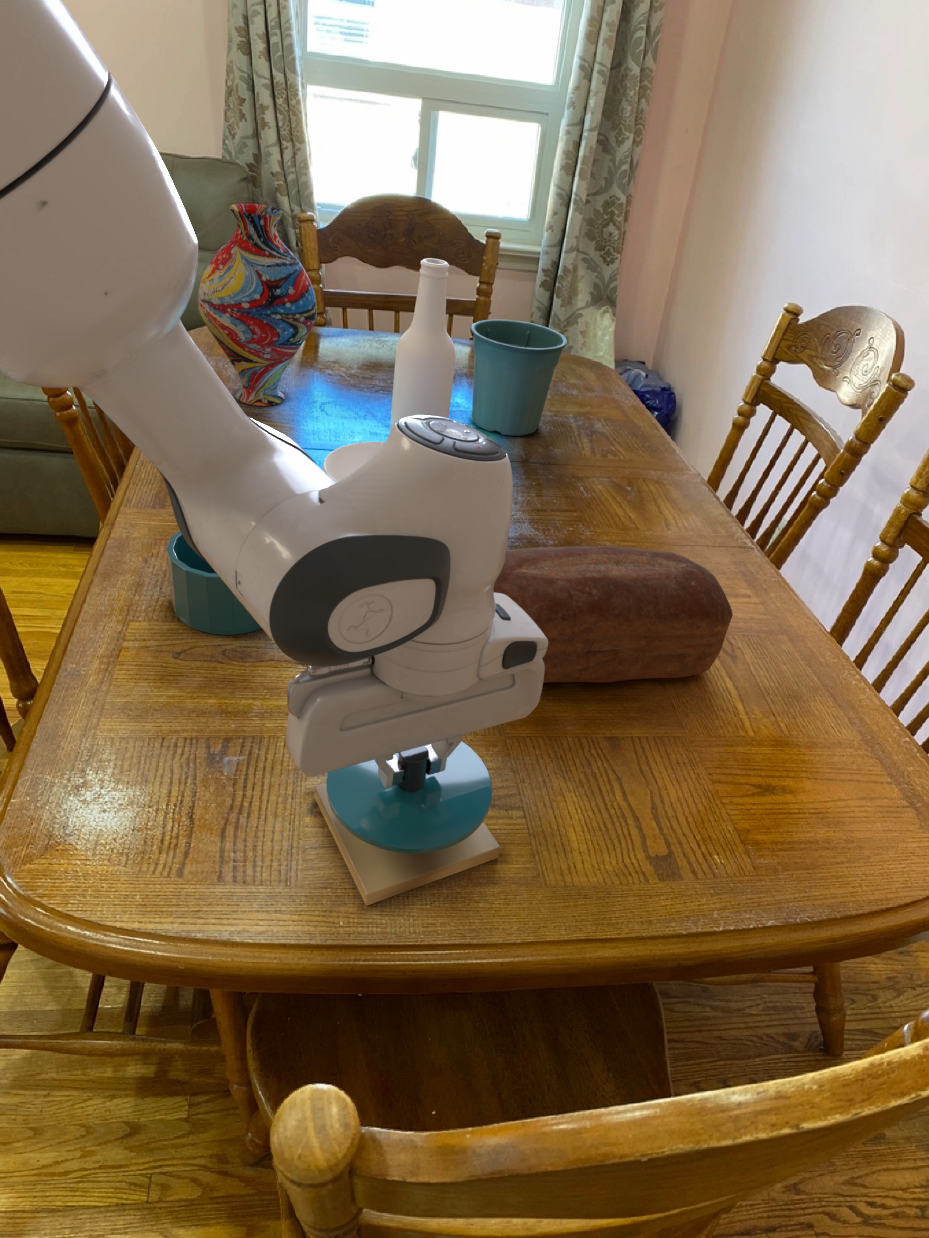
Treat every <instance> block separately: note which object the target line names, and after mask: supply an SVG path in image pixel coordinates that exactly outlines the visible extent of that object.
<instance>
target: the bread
mask: <svg viewBox="0 0 929 1238" xmlns="http://www.w3.org/2000/svg"><path fill="white" fill-rule="evenodd" d="M494 593H502V594H505V595H507V596H508V597H509V598H511V599H512V600H513V601H514V602H515V603H516V604H517V605H519V606H520V607H521V608H522V609H523V610H524V611H525V612H526V613H527V614H528V615H529V616H530V618H531V619H532V620H533V621H534V622H535V623H536V624H537V626H538V627H539V628H540V629H541V631H542V632H543V633H544V635H545V636H546V638H547V639H548V647H547V651H546V653H545V655H544V657H543V658H542V660H543V662H544V665H545V673H544V681H543V684H554V683H615V682H622V681H630V680H642V679H643V680H645V679H679V678H685V677H690V676H691V677H692V676H694V675H700V674H703V673H705V672H707V671H710V670H711V667H712V666H713V664H714V663H715V661H716V660H717V658H718V657H719V654H720V652H721V651H722V648H723V645H724V641H725V638H726V635H727V632H728V630H729V627H730V624H731V622H732V618H733V615H734V614H733V610H732V606H731V604H730V602H729V599H728V598H727V596H726V593H725V591H724V589H723V587H722V585H721V584H720V582H719V581H718V579H717V577H716V576H715V575H714V574H713V573H712V572H710V570H709V569H707V568H706V567H705V566H703V565H701V564H699V563H697V562H695V561H693V560H691V559H689V558H687V557H685V556H683V555H680V554H677V553H674V552H670V551H662V550H653V549H651V550H650V549H642V548H636V547H635V548H634V547H623V546H575V545H574V546H573V545H572V546H545V547H544V546H543V547H525V548H517V549H510V550H506V555H505V561H504V565H503V568H502V570H501V573H500V574H499V576H498V578H497V580H496V582H495V584H494Z"/></svg>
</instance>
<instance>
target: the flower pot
mask: <svg viewBox="0 0 929 1238" xmlns="http://www.w3.org/2000/svg"><path fill="white" fill-rule="evenodd" d="M470 329H471V333H472V334H473V344H472V352H473V354H474V362H473V363H474V365H473V387H472V404H471V405H472V407H471V419H472V421H473V423H474V424H475V425H477V426H478V427H479V428H482V430H485V431H488V432H493V431H496V432H498V433H500V434H501V435H504V436H514V437H517V436H518V437H519V436H526V435H530V434H533V433H535V432H537V431H536V430H537V429H538V427H539V426H540V423H541V420H542V415H543V411H544V408H545V405H546V401H547V397H548V394H549V392H550V391H549V390H550V387H551V384H552V379H553V376H554V373H555V370H556V367H557V366H558V364H559V362H560V358H561V356H562V355H561V354H562V351H563V348H565V347H566V345H567V344H568V339H567V338H566V337H565V335H564V334H562V333H560V332H559V331H557V330H554V329H552V328H550V327H547V326H544V325H540V324H536V323H532V322H528V321H520V320H515V319H513V320H512V319H485V320H478V321H476V322H474V323H473V324H471V326H470Z"/></svg>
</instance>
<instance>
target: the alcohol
mask: <svg viewBox="0 0 929 1238" xmlns="http://www.w3.org/2000/svg"><path fill="white" fill-rule="evenodd" d="M449 268H450V264H449V263H448V262H447V261H446V260H443V259H439V258H432V257H429V258H423V259H422V260H420V268H419V274H420V275H419V281H418V286H417V287H418V288H417V293H416V299H415V306H414V312H413V318H412V319H413V320H412V321H411V324H410V326H409V328H407V330H406V331H405V332H404V333H403V334H402V335H401V337H400V338H399V339H398V343H397V346H396V349H395V359H394V371H393V372H394V373H393V386H392V399H391V411H390V412H391V413H390V424H389V433H390V432H391V430H392V428H393V426H394V424H395V423H396V422H397V421H398V420H400V419H402V418H405V417H411V416H415V415H429V416H437V417H443V418H448V419H450V411H451V402H452V393H453V385H454V376H455V367H456V360H457V359H456V358H457V355H456V346H455V343H454V342H453V339H452V338H451V336H450V334H449V333H448V330H447V325H446V319H447V318H446V317H447V316H446V314H447V289H448V288H447V285H448V284H447V283H448V277H449V271H448V270H449Z"/></svg>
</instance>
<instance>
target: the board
mask: <svg viewBox="0 0 929 1238" xmlns="http://www.w3.org/2000/svg"><path fill="white" fill-rule="evenodd" d="M313 790H314V791H313V792H314V793H313V797H314V800H315V802H316V804H317V806H318V808H319V811H320V813H321V815H322V817H323V818H324V821H325V823H326V825H327V827H328V829H329V831H330V833H331V835H332V838H333V839H334V842H335V843H336V846H337V848H338V850H339V853H340V854H341V856H342V859H343V861H344V862H345V864H346V867H347V869H348V871H349V873H350V876H351V878H352V880H353V882H354V883H355V886H356V888H357V891H358V892H359V894H360V896H361V898H362V900H363V903H364V904H365V906H370V905H372V904H376V903H378V902H381V901H383V900H386V899H390V898H391V897H394V896H398V895H400V894H403V893H406V892H408V891H411V890H414V889H416V888H419V887H422V886H425V885H428V884H430V883H433V882H435V881H439V880H441V879H444V878H446V877H449V876H452V875H455V874H458V873H461V872H463V871H466V870H469V869H471V868H475V867H477V866H479V865H482V864H485V863H489V862H490V861H494V860H497V859H498V858H499V855H500V850H501V846H500V844H499V843H498V841H497V840H496V838H495V836H494V835H493V834H492V831H491V830H490V829H489V827H488V826H487V824H486V823H485V820H484V821H483V822H482V824H481V825H480V827H479V828H478V829H477V830H476V831H475V832H474V833H473V834H471V835H470V836H469V837H468V838H466V839H465V840H463V841H461V842H460V843H458V844H456V845H454V846H451V847H449V848H446V849H443V850H439V851H435V852H429V853H418V854H409V853H398V852H392V851H388V850H384V849H380V848H377V847H375V846H373V845H370V844H368V843H366V842H364V841H362V840H360V839H359V838H357V837H356V836H354V835H353V834H352V833H350V832H349V831H348V830H347V829H346V828H345V827H344V826H343V825H342V824H341V823H340V822H339V820H338V819H337V818H336V816H335V815H334V813H333V811H332V810H331V807H330V805H329V802H328V798H327V792H326V782H322V783H318V784H316V785H314V789H313Z"/></svg>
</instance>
